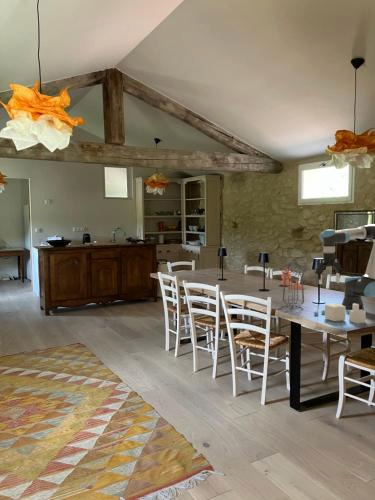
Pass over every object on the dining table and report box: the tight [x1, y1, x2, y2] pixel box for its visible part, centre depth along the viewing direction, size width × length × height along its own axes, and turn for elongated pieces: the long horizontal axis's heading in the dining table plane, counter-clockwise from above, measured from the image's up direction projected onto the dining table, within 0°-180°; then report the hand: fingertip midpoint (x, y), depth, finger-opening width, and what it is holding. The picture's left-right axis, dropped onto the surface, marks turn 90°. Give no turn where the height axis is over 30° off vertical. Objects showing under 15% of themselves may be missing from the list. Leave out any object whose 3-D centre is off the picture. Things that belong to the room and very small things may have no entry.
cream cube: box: [324, 303, 347, 321], centre depth 258 cm, size 9×9×9 cm
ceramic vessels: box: [280, 269, 306, 291], centre depth 378 cm, size 35×21×19 cm, turn 16°
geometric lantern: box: [280, 261, 308, 309], centre depth 296 cm, size 16×16×35 cm
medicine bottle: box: [348, 303, 367, 324], centre depth 253 cm, size 7×7×12 cm
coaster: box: [327, 319, 345, 323], centre depth 258 cm, size 10×10×1 cm
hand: (329, 283), depth 266 cm, fingers open, 13 cm apart
